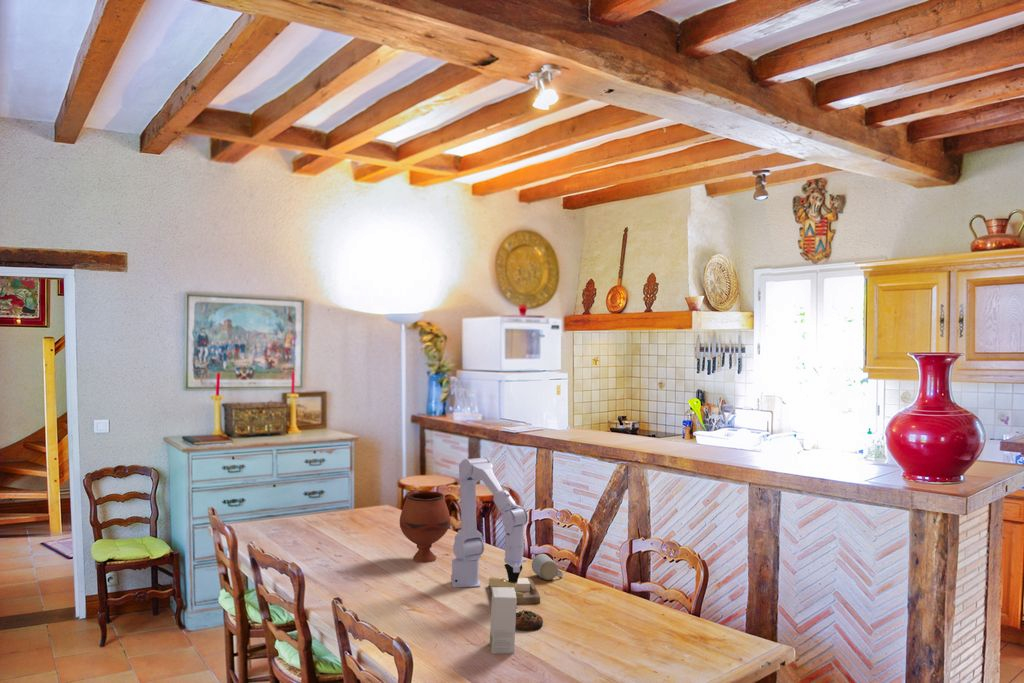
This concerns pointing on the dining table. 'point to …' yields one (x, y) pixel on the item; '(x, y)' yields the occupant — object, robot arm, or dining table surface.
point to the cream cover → (523, 584)
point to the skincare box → (503, 620)
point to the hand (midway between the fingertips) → (512, 587)
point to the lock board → (526, 594)
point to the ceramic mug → (545, 567)
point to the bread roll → (528, 621)
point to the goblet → (424, 522)
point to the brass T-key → (505, 585)
